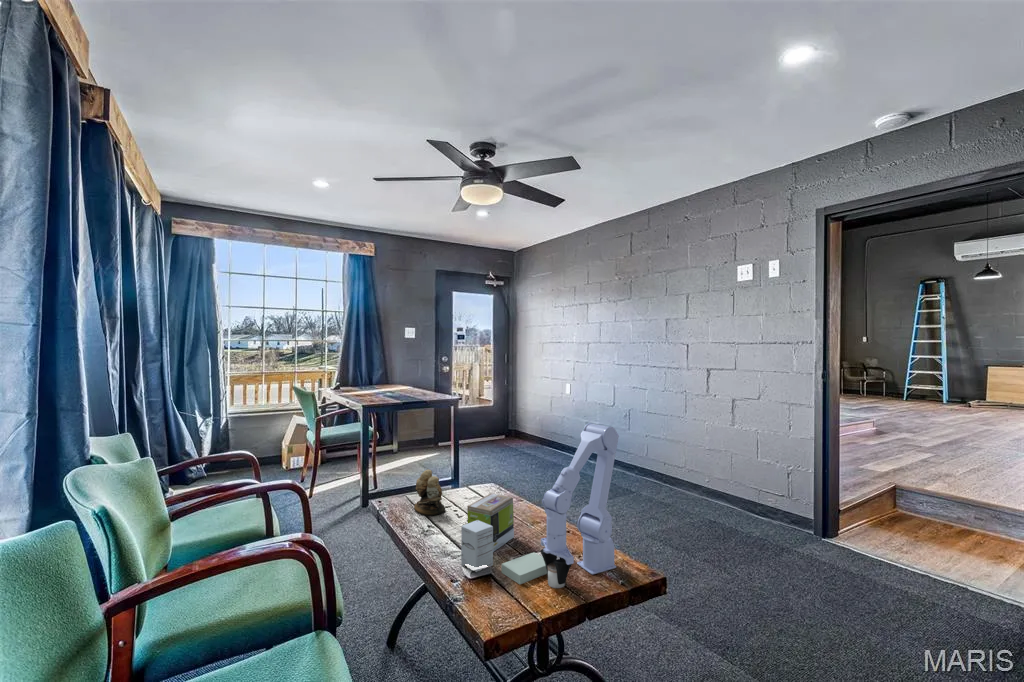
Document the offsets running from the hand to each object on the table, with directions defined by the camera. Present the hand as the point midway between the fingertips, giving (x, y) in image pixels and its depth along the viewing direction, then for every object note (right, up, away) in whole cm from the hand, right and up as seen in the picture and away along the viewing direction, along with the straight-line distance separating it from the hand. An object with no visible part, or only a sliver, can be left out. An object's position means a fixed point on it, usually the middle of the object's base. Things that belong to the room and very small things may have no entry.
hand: (556, 578), depth 138 cm
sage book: (-8, -2, +7) cm, 11 cm away
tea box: (-20, -2, +28) cm, 34 cm away
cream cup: (0, -1, 0) cm, 1 cm away
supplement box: (-24, -2, +11) cm, 26 cm away
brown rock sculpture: (-47, -2, +60) cm, 76 cm away
